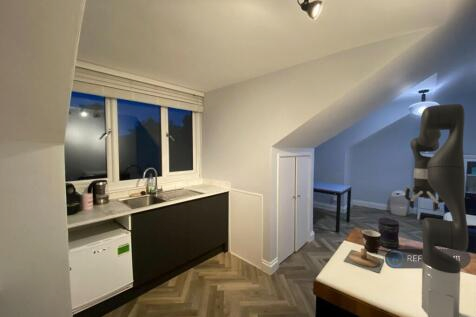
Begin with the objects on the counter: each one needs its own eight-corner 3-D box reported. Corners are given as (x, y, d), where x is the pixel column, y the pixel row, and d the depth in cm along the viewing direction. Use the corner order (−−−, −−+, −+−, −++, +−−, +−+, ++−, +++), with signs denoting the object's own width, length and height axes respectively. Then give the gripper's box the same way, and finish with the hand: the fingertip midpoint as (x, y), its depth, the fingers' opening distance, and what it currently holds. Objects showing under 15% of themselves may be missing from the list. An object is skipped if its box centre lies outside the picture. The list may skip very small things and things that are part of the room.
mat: (378, 273, 92) (378, 272, 92) (343, 261, 103) (343, 260, 103) (383, 259, 103) (383, 259, 103) (351, 250, 113) (351, 249, 113)
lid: (376, 270, 94) (376, 259, 93) (346, 260, 103) (346, 250, 102) (381, 259, 103) (381, 249, 103) (353, 250, 112) (353, 241, 112)
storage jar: (400, 251, 111) (400, 225, 110) (378, 247, 116) (378, 222, 115) (397, 244, 119) (397, 219, 118) (377, 240, 124) (377, 217, 124)
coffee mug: (362, 245, 119) (362, 228, 118) (379, 248, 114) (379, 231, 114) (362, 254, 109) (362, 236, 108) (381, 258, 104) (381, 239, 104)
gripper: (407, 177, 101) (406, 209, 101) (446, 179, 93) (445, 213, 94) (404, 175, 107) (403, 205, 108) (440, 177, 100) (439, 209, 101)
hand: (423, 209), depth 101 cm, fingers open, 8 cm apart
